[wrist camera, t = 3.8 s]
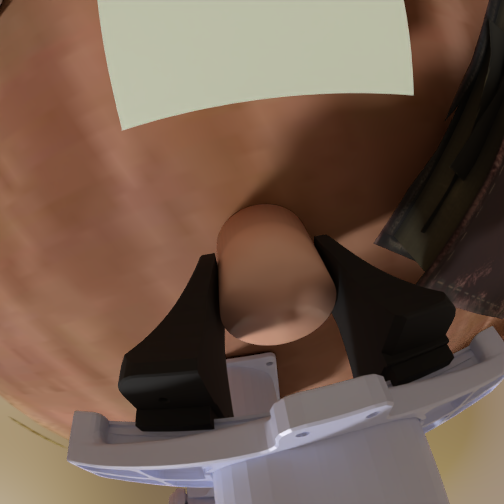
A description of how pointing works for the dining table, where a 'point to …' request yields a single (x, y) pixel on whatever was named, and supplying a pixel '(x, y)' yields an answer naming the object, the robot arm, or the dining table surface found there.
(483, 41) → the diary
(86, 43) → the dining table surface
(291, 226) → the peach rounded lump
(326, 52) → the sage middle block
